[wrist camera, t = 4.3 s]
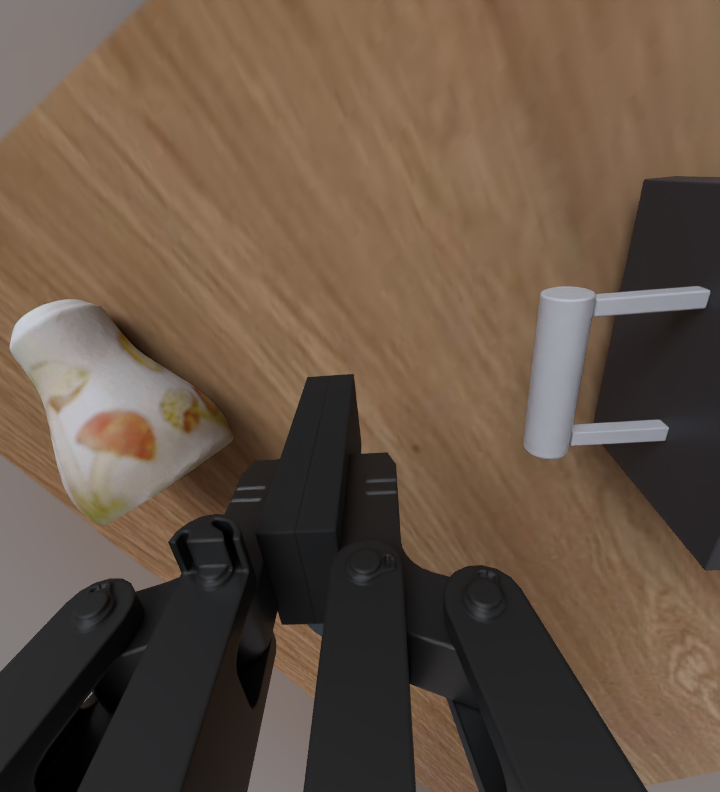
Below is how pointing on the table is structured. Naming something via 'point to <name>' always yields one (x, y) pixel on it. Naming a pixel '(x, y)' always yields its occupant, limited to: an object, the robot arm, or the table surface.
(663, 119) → the table surface
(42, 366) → the mug
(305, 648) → the table surface
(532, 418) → the drawer
